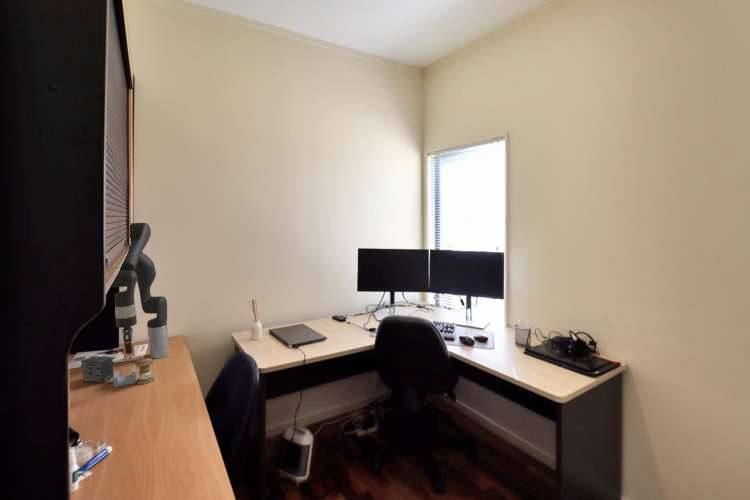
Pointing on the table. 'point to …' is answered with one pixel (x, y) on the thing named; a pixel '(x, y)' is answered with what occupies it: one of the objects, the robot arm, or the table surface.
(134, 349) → the tan rectangular block
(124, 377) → the grey channel bracket
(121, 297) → the robot arm
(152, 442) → the table surface
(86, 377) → the small box
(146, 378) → the bobbin
